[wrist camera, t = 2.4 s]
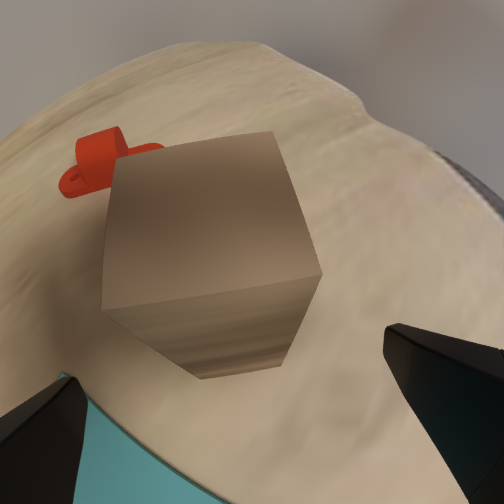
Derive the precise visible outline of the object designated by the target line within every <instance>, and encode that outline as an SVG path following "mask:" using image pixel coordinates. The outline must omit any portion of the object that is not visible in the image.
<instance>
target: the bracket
mask: <svg viewBox="0 0 504 504" xmlns="http://www.w3.org/2000/svg"><path fill="white" fill-rule="evenodd" d="M161 148H165V147H164V146H163V145H161V144H158V143H149V144H144V145H141V146H137V147H133V148H129V149H128V147H127V144H126V142H125V139H124V137H123V134H122V132H121V130H120V128H119V127H118V126H116V127H113V128H110V129H107V130H103V131H100V132H97V133H94V134H91V135H88V136H85V137H82V138H80V139H78V140H77V142H76V147H75V154H76V160H77V164H78V165H75V166H73V167H71V168H70V169H69V170H67V171H66V172H65V173H64V174H63V176H62V177H61V179H60V181H59V189H60V191H61V192H62V194H63V195H64V196H65V197H66V198H75V197H79V196H82V195H85V194H88V193H91V192H95V191H98V190H102V189H105V188H109V187H112V180H113V174H114V168H115V163H116V159H117V158H121V157H125V156H130V155H134V154H138V153H142V152H147V151H151V150H156V149H161Z"/></svg>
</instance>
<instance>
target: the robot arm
mask: <svg viewBox="0 0 504 504" xmlns="http://www.w3.org/2000/svg"><path fill="white" fill-rule="evenodd" d="M383 355H384V358H385V360H386V362H387V364H388V366H389V368H390V370H391V372H392V374H393V376H394V378H395V380H396V382H397V384H398V386H399V388H400V390H401V392H402V394H403V395H404V397H405V399H406V400H407V402H408V404H409V405H410V407H411V408H412V410H413V411H414V413H415V414H416V416H417V418H418V419H419V421H420V422H421V424H422V425H423V427H424V429H425V430H426V432H427V433H428V435H429V436H430V438H431V440H432V441H433V443H434V444H435V446H436V448H437V449H438V451H439V453H440V454H441V456H442V458H443V459H444V461H445V462H446V464H447V466H448V467H449V469H450V471H451V472H452V474H453V476H454V478H455V479H456V481H457V483H458V484H459V486H460V488H461V490H462V491H463V493H464V495H465V497H466V498H467V500H468V502H469V504H504V350H503V349H500V350H499V349H498V348H494V347H490V346H486V345H482V344H478V343H474V342H470V341H466V340H462V339H458V338H454V337H450V336H446V335H442V334H438V333H434V332H431V331H427V330H423V329H419V328H416V327H412V326H408V325H404V324H401V323H396V324H393V325H390V326H387V327H386V328H385V332H384V343H383ZM87 411H88V399H87V397H86V395H85V393H84V391H83V389H82V387H81V385H80V383H79V381H78V380H77V379H76V378H75V377H62V378H61V379H59V380H57V381H56V382H54V383H53V384H51V385H50V386H48V387H47V388H45V389H44V390H42V391H41V392H39V393H37V394H36V395H34V396H33V397H31V398H30V399H28V400H27V401H25V402H24V403H22V404H21V405H19V406H18V407H16V408H14V409H13V410H11V411H10V412H8V413H7V414H5V415H4V416H2V417H1V418H0V504H73V501H74V494H75V488H76V482H77V476H78V470H79V465H80V460H81V455H82V450H83V444H84V436H85V427H86V419H87Z"/></svg>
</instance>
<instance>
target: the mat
mask: <svg viewBox="0 0 504 504" xmlns="http://www.w3.org/2000/svg"><path fill="white" fill-rule="evenodd" d="M62 377H69V376H68V375H67V374H66V373H63V372H62V374H61V375H60V377H59V378H58V379H57V380H59V379H61V378H62ZM85 395H86V394H85ZM86 397H87V399H88V411H87V419H86V427H85V436H84V444H83V450H82V455H81V460H80V465H79V470H78V476H77V482H76V488H75V494H74V501H73V504H229V503H227V502H225V501H224V500H222V499H220V498H218V497H217V496H215V495H213V494H211V493H210V492H208V491H207V490H205V489H203V488H202V487H200V486H198V485H197V484H195V483H194V482H192V481H191V480H189V479H188V478H186V477H185V476H183V475H182V474H180V473H179V472H177V471H176V470H174V469H173V468H172V467H170V466H169V465H167V464H166V463H165V462H163V461H162V460H161V459H159V458H158V457H157V456H155V455H154V454H153V453H151V452H150V451H149V450H148V449H146V448H145V447H144V446H142V445H141V444H140V443H139V442H138V441H136V440H135V439H134V438H133V437H131V436H130V435H129V434H128V433H127V432H126V431H124V430H123V429H122V428H121V427H120V426H119V425H118V424H116V423H115V422H114V421H113V420H112V419H111V418H110V417H109V416H108V415H107V414H106V413H105V412H103V411H102V410H101V409H100V408H99V407H98V406H97V405H96V404H95V403H94V402H93V401H92V400H91V399H90V398H89V397H88V396H87V395H86Z"/></svg>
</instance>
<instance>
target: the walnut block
mask: <svg viewBox="0 0 504 504" xmlns="http://www.w3.org/2000/svg"><path fill="white" fill-rule="evenodd" d="M321 277H322V271H321V268H320V265H319V261H318V258H317V255H316V252H315V249H314V246H313V243H312V240H311V237H310V234H309V231H308V228H307V225H306V222H305V219H304V216H303V213H302V210H301V207H300V205H299V202H298V199H297V196H296V193H295V190H294V188H293V185H292V182H291V179H290V177H289V174H288V171H287V169H286V166H285V163H284V161H283V158H282V155H281V153H280V150H279V147H278V145H277V142H276V140H275V137H274V134H273V132H272V131H269V132H260V133H251V134H243V135H236V136H229V137H222V138H215V139H209V140H203V141H197V142H192V143H186V144H181V145H175V146H170V147H165V148H161V149H156V150H151V151H147V152H142V153H138V154H134V155H130V156H125V157H121V158H117V159H116V163H115V168H114V174H113V180H112V187H111V193H110V200H109V208H108V215H107V224H106V234H105V244H104V256H103V272H102V294H101V311H103V312H104V313H105V314H107V315H108V316H109V317H110V318H112V319H113V320H114V321H116V322H117V323H118V324H120V325H121V326H122V327H124V328H125V329H126V330H128V331H129V332H130V333H132V334H133V335H134V336H136V337H137V338H139V339H140V340H141V341H143V342H144V343H146V344H147V345H148V346H150V347H151V348H153V349H154V350H156V351H157V352H159V353H160V354H162V355H163V356H165V357H166V358H168V359H169V360H171V361H172V362H174V363H175V364H177V365H178V366H180V367H181V368H183V369H185V370H186V371H188V372H189V373H191V374H193V375H194V376H196V377H197V378H199V379H207V378H215V377H221V376H228V375H234V374H241V373H246V372H252V371H258V370H263V369H268V368H273V367H278V366H281V365H282V363H283V361H284V358H285V356H286V354H287V352H288V350H289V348H290V346H291V344H292V342H293V340H294V337H295V335H296V333H297V331H298V329H299V327H300V324H301V322H302V320H303V318H304V316H305V313H306V311H307V309H308V307H309V304H310V302H311V300H312V298H313V295H314V293H315V291H316V288H317V286H318V284H319V281H320V279H321Z"/></svg>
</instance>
